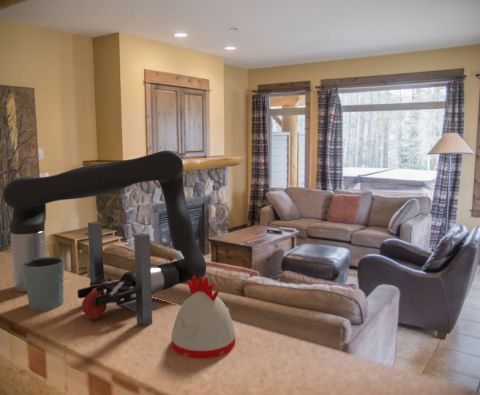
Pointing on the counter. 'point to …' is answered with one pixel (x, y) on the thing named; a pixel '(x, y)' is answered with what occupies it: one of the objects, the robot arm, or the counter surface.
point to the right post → (143, 279)
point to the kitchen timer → (203, 323)
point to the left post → (95, 251)
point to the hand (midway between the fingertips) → (86, 298)
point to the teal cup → (44, 282)
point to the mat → (132, 305)
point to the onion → (89, 305)
